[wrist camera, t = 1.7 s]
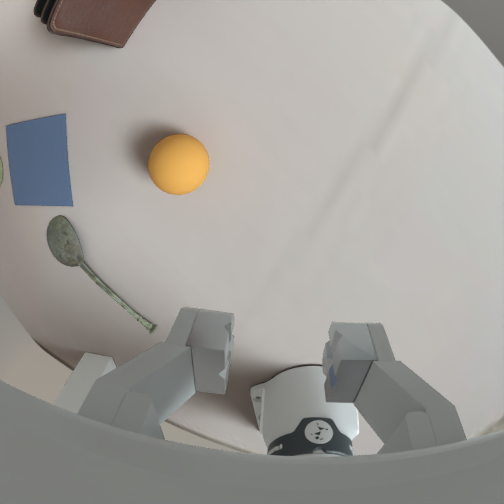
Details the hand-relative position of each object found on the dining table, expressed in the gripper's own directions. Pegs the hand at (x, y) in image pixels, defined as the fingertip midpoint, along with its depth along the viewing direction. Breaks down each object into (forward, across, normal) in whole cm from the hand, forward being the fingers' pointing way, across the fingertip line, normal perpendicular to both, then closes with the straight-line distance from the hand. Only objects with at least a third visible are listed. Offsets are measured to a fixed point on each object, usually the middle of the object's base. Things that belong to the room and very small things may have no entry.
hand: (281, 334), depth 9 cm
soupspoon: (+26, +24, +16) cm, 39 cm away
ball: (+22, +10, 0) cm, 24 cm away
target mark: (+25, +32, 0) cm, 41 cm away
